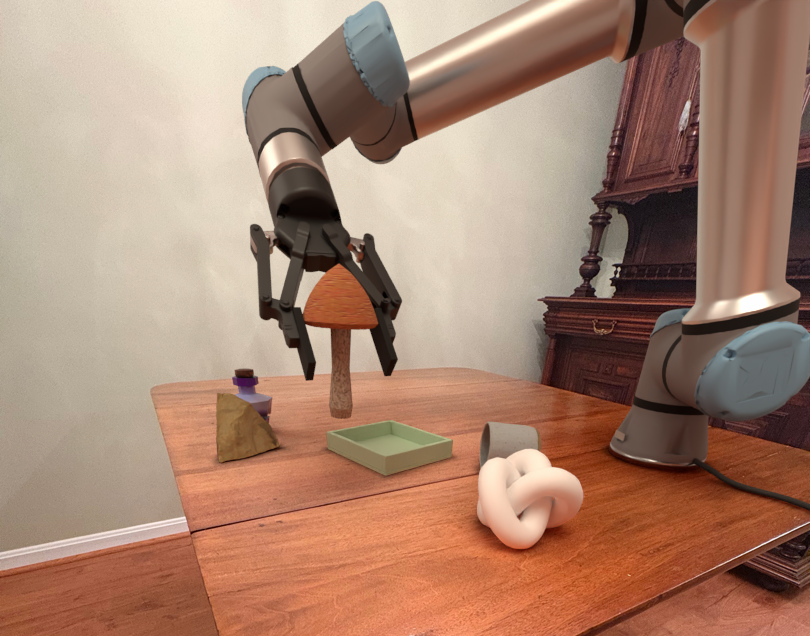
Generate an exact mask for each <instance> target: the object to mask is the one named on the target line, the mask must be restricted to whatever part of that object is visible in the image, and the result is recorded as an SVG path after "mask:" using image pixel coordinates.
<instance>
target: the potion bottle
mask: <svg viewBox="0 0 810 636" xmlns="http://www.w3.org/2000/svg"><path fill="white" fill-rule="evenodd" d="M231 378H232V385H233V386H236V387H237V389H238V393H235V394H234V395H236V396H237V397H239V398H241V399H243V400H245V401H247V402H249V403H251V404H252V406H253V408H254V409H255V410H256V411H257V412H258V413H259V414H260V416H261V417H262V418H263V419H264V420H265V421H267V422H268V423H269V424H270V415H271V414H272V408H273V407H272V404H273V396H270V395H267V394H264V393H260V392H257V390H256V386H257V385H259V384H260V383H259V376H257V375H255V372H254V368H236V369H234V376H232V377H231Z"/></svg>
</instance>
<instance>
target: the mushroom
mask: <svg viewBox="0 0 810 636" xmlns="http://www.w3.org/2000/svg"><path fill="white" fill-rule="evenodd" d="M302 314H303V318H304V321H305V325H306V326H308V327H313V328H320V329H330V353H331V355H330V356H331V375H330V385H329V386H330V387H329V401H328V407H329V412H330V416H331V417H332V418H334V419H337V420H348V419H350V418H352V416H353V407H354V406H353V404H354V403H353V392H352V391H353V390H352V381H351V380H352V378H351V343H352V330H356V331H360V330H361V331H362V330H363V331H365V330H369V329H372V328H375V327H376V326H377V325H378V321H377V317H376V314H375V311H374V308H373V306H372V303H371V301H370V299H369V297H368V295H367V294H366V292H365V290H364V289H363V287H362V286H361V285H360V283H359V282H358V281H357V279H356V278H355V277H354V276H353V275H352V274H351V272H349V271H348V270H347V269H346V268H344V267H343V266H342V265H340V264H337V265H336V266H334V267H333V268H331V269H330V270H328V271H327V272H326V273H325V272H324V274H323V275H322V276H321V277H320V279H319V280H318V281H317V282H316V284H315V285H314V286H313V288H312V290H311V292H310V293H309V295H308V297H307V299H306V301H305V305H304V308H303V311H302Z"/></svg>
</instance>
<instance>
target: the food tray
mask: <svg viewBox="0 0 810 636" xmlns="http://www.w3.org/2000/svg"><path fill="white" fill-rule="evenodd" d="M325 433H326V434H325V435H326V446H327V447H326V448H327V450H329V451H331V452H333V453H335V454H337V455H339V456H341V457H344V458H346V459H348V460H350V461H353V462H355V463H357V464H358V465H361V466H363V467H365V468H367V469H369V470H371V471H374V472H376V473H378V474H380V475H382V476H384V477H387V476H390V475H394V474H397V473H401V472H404V471H405V472H406V471H408V470H412V469H416V468H419V467H423V466H426V465H429V464H433V463H436V462H440V461H443V460H447V459H451V458H452V457H453V444H454V439H452V438H449V437H445V436H443V435H439V434H437V433H434V432H430V431H427V430H424V429H421V428H417V427H414V426H412V425H409V424H405V423H402V422H399V421H396V420H392V419H388V420H383V421H377V422H372V423H366V424H361V425H356V426H351V427H345V428H340V429H334V430H328V431H326V432H325Z"/></svg>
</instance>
